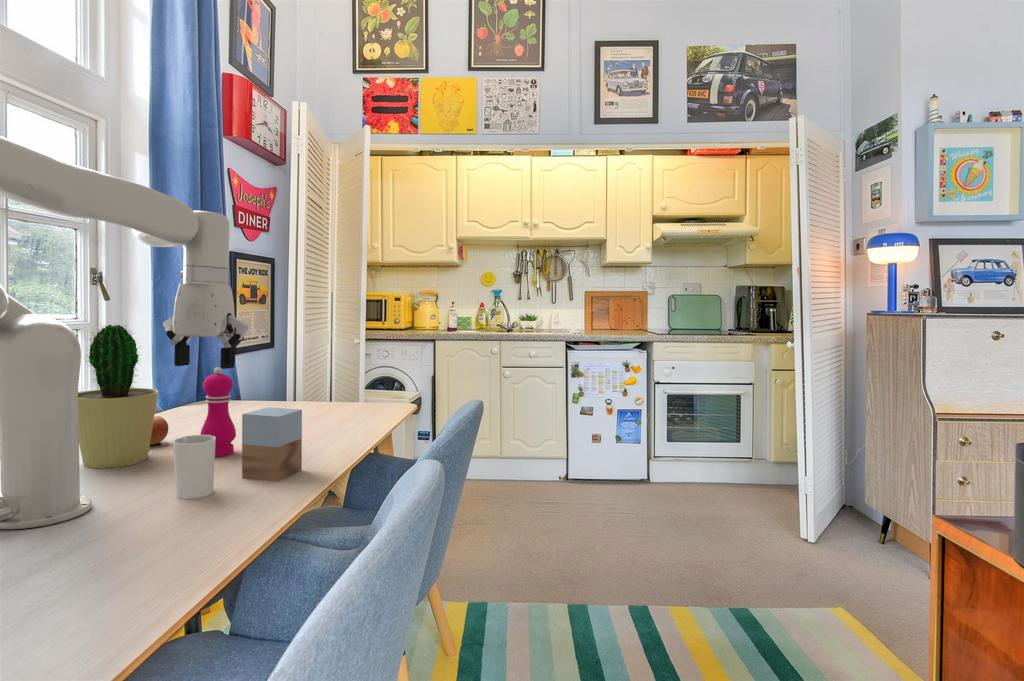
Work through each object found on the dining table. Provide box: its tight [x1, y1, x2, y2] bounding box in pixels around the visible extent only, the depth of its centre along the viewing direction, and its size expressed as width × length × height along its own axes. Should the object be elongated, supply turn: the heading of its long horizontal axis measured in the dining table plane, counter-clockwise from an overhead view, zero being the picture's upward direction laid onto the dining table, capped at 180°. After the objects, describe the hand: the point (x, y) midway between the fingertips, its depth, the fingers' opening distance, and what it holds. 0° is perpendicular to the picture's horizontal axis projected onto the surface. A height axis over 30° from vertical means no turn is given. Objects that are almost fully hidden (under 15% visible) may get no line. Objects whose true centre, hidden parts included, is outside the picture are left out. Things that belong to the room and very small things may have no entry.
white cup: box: [172, 434, 216, 500], centre depth 99 cm, size 7×7×10 cm
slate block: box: [241, 406, 303, 447], centre depth 111 cm, size 8×8×6 cm
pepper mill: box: [199, 366, 237, 458], centre depth 125 cm, size 7×7×20 cm
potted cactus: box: [78, 323, 159, 469], centre depth 117 cm, size 15×15×30 cm
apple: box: [150, 415, 169, 446], centre depth 132 cm, size 8×8×8 cm
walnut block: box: [241, 437, 303, 483], centre depth 112 cm, size 8×8×7 cm
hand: (204, 366), depth 105 cm, fingers open, 9 cm apart
